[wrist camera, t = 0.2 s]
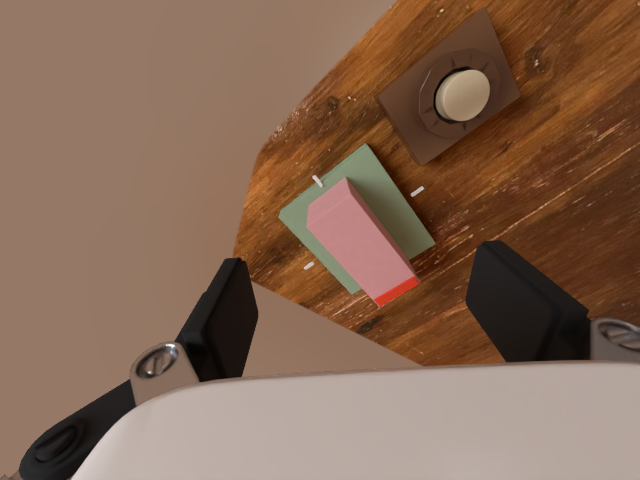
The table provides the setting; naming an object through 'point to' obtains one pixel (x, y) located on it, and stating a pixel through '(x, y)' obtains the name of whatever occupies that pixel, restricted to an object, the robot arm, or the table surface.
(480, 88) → the button
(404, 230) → the green mat
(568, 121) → the table surface
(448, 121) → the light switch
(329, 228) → the pink bar
